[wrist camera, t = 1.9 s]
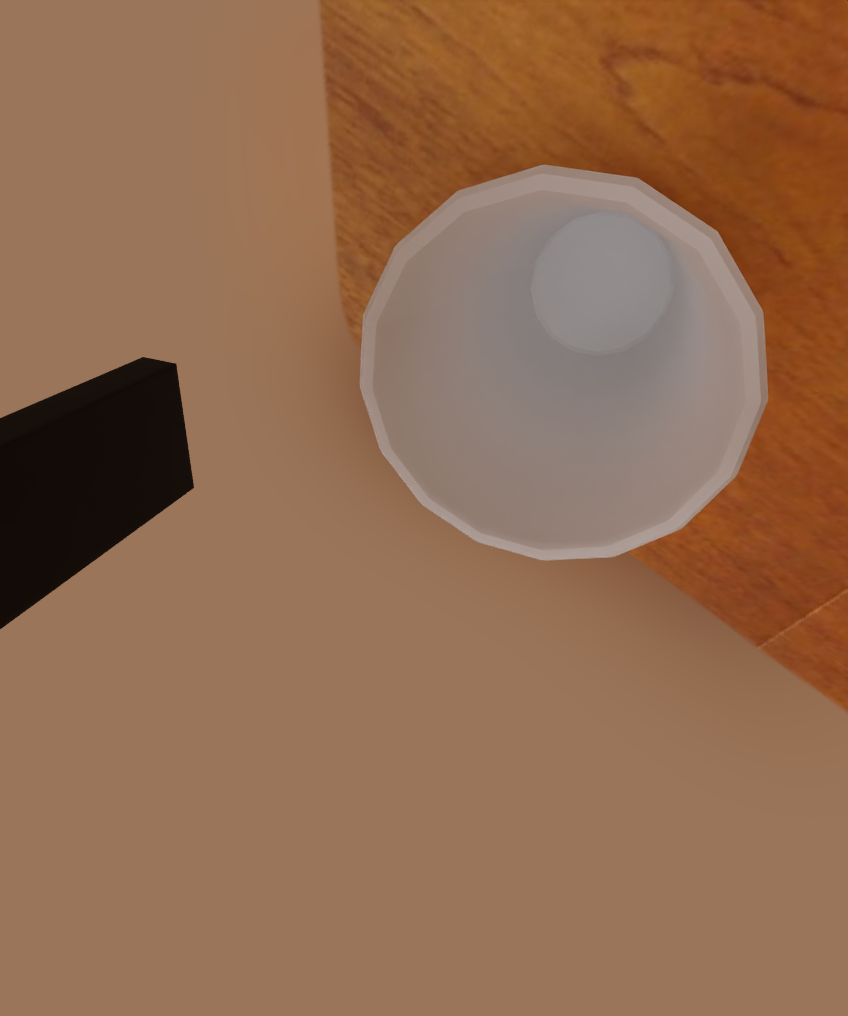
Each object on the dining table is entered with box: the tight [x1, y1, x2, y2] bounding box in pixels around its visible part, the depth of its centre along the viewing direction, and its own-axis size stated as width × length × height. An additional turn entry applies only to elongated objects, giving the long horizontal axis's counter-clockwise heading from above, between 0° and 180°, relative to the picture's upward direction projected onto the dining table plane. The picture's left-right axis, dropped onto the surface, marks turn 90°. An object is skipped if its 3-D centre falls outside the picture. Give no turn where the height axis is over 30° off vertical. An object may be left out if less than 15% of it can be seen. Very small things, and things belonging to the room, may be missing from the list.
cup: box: [359, 164, 768, 561], centre depth 21 cm, size 10×10×13 cm
